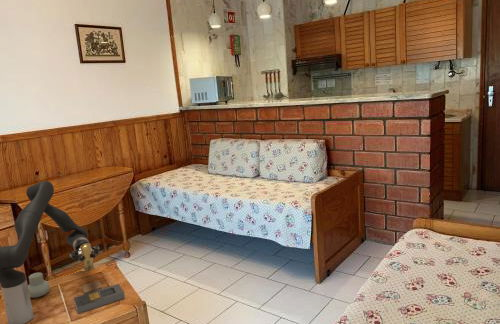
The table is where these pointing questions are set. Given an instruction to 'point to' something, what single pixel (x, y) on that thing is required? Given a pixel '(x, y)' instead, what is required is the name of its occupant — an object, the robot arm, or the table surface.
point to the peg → (87, 257)
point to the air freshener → (37, 285)
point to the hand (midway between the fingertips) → (88, 257)
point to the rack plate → (98, 298)
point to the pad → (91, 287)
